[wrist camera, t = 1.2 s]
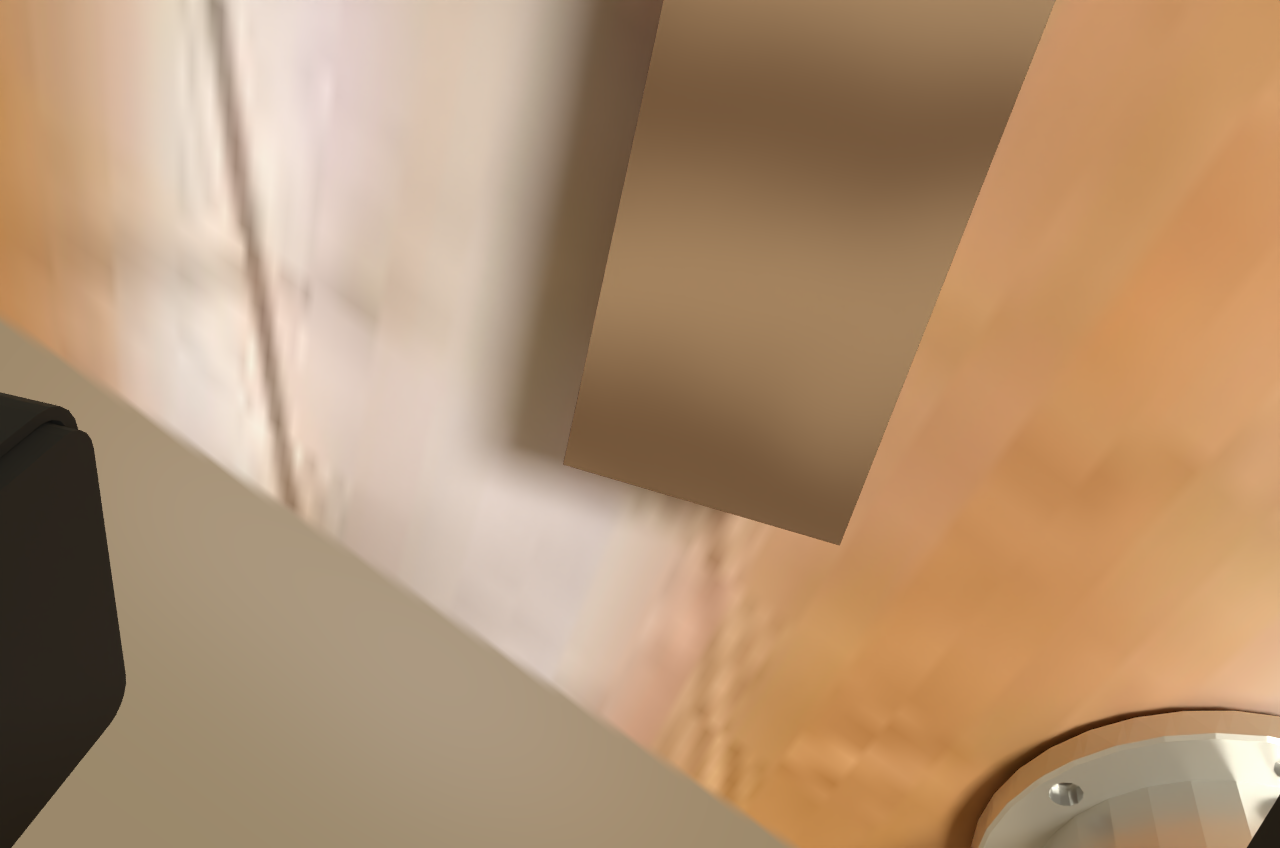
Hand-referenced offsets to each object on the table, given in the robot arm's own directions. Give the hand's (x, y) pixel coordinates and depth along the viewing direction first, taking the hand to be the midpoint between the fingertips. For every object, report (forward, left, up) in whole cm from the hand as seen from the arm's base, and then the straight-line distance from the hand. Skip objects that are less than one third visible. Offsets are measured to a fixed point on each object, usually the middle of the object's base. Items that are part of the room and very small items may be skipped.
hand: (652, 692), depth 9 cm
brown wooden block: (0, 0, -19) cm, 19 cm away
